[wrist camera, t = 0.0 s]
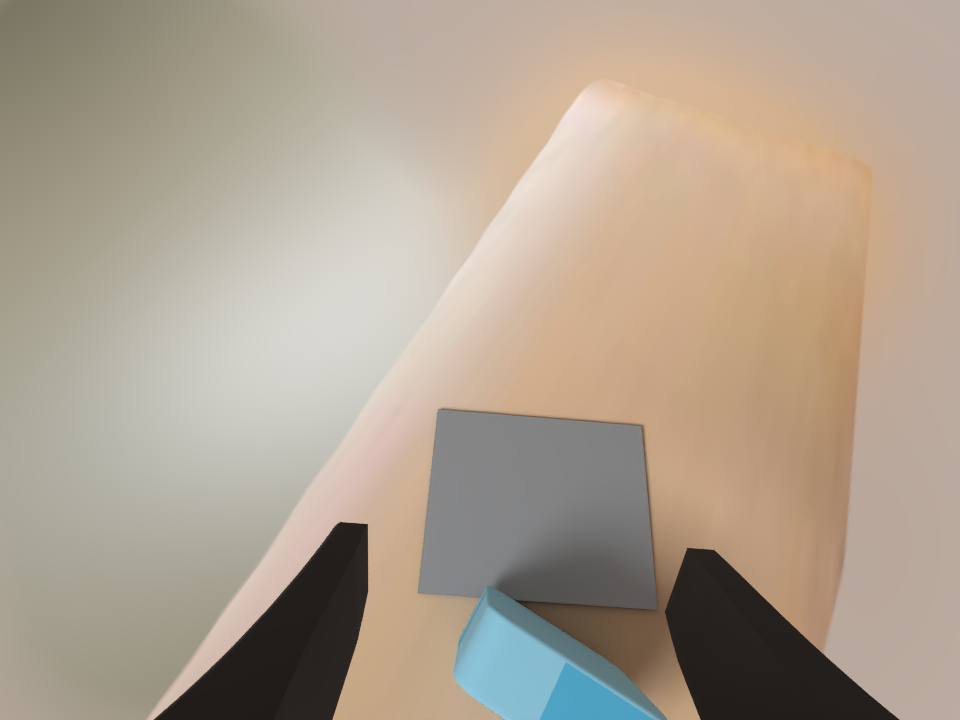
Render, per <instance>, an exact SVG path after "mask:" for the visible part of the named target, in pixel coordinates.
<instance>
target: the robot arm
mask: <svg viewBox="0 0 960 720" xmlns="http://www.w3.org/2000/svg"><path fill="white" fill-rule="evenodd" d="M367 594H368V524H358V523H345V522H340V523H338V524H337V525H336V526H335V527H334V528H333V530H332V531H331V532H330V534H329V535H328V537H327V538H326V539H325V541H324V542H323V543H322V545H321V546H320V547H319V548H318V550H317V551H316V552H315V554H314V555H313V556H312V557H311V559H310V560H309V561H308V562H307V564H306V565H305V566H304V567H303V569H302V570H301V571H300V572H299V574H298V575H297V576H296V577H295V578H294V579H293V581H292V582H291V583H290V584H289V585H288V586H287V588H286V589H285V590H284V591H283V592H282V593H281V595H280V596H279V597H278V598H277V599H276V600H275V602H274V603H273V604H272V605H271V606H270V607H269V608H268V609H267V611H266V612H265V613H264V614H263V615H262V616H261V617H260V618H259V619H258V620H257V621H256V622H255V623H254V624H253V625H252V627H251V628H250V629H249V630H248V631H247V632H246V633H245V634H244V635H243V636H242V637H241V638H240V639H239V640H238V641H237V642H236V643H235V644H234V646H233V647H232V648H231V649H230V650H229V651H228V652H227V653H226V654H225V655H224V656H223V657H222V658H221V659H220V660H219V661H217V662H216V663H215V664H214V665H213V666H212V667H211V668H210V669H209V670H208V671H207V672H206V673H205V674H204V675H203V676H202V677H201V678H200V679H199V680H198V681H196V682H195V683H194V684H193V685H192V686H191V687H190V688H189V689H188V690H187V691H186V692H185V693H184V694H182V695H181V696H180V697H179V698H178V699H177V700H176V701H175V702H173V703H172V704H171V705H170V706H169V707H168V708H167V709H165V710H164V711H163V712H162V713H161V714H160V715H159V716H157V717H156V718H155V719H154V720H332V719H333V716H334V713H335V710H336V706H337V703H338V700H339V697H340V694H341V691H342V688H343V685H344V682H345V678H346V675H347V672H348V669H349V666H350V663H351V659H352V656H353V653H354V650H355V647H356V644H357V640H358V636H359V631H360V627H361V622H362V618H363V613H364V608H365V603H366V599H367ZM665 614H666V618H667V622H668V626H669V630H670V634H671V638H672V641H673V645H674V648H675V652H676V655H677V659H678V662H679V665H680V668H681V670H682V673H683V676H684V678H685V681H686V683H687V686H688V688H689V691H690V694H691V696H692V699H693V701H694V704H695V706H696V709H697V712H698V714H699V717H700V719H701V720H899V719H898V718H897V717H895V716H894V715H893V714H892V713H890V712H889V711H888V710H887V709H886V708H884V707H883V706H882V705H881V704H880V703H878V702H877V701H876V700H875V699H874V698H872V697H871V696H870V695H869V694H868V693H866V692H865V691H864V690H863V689H862V688H861V687H859V686H858V685H857V684H856V683H855V682H854V681H853V680H852V679H850V678H849V677H848V676H847V675H846V674H845V673H844V672H843V671H841V670H840V669H839V668H838V667H837V666H836V665H835V664H834V663H832V662H831V661H830V660H829V659H828V658H827V657H826V656H825V655H824V654H822V653H821V652H820V651H819V650H818V649H817V648H816V647H815V646H814V645H813V644H812V643H810V642H809V641H808V640H807V639H806V638H805V637H804V636H803V635H802V634H801V633H800V632H799V631H798V630H797V629H796V628H795V627H793V626H792V625H791V624H790V623H789V622H788V621H787V620H786V619H785V618H784V617H783V616H782V615H781V614H780V613H779V612H778V611H777V610H776V609H775V608H774V607H773V606H772V605H771V604H770V603H769V602H767V601H766V600H765V599H764V598H763V597H762V596H761V595H760V594H759V593H758V592H757V591H756V590H755V589H754V588H753V587H752V586H751V585H750V584H749V583H748V582H747V581H746V580H745V579H744V578H743V577H742V576H741V575H740V574H739V573H738V572H737V571H736V570H735V569H734V568H733V567H732V566H731V565H730V564H728V563H727V562H726V561H725V560H724V559H723V558H722V557H721V556H720V555H719V554H718V553H717V552H716V551H714V550H707V549H693V548H687V551H686V554H685V556H684V559H683V562H682V565H681V568H680V571H679V573H678V576H677V579H676V582H675V585H674V588H673V591H672V593H671V596H670V599H669V602H668V605H667V608H666V610H665Z"/></svg>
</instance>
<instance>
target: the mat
mask: <svg viewBox="0 0 960 720" xmlns="http://www.w3.org/2000/svg"><path fill="white" fill-rule="evenodd" d="M487 586H491V587H493V588H495V589H497V590H499V591H501V592H502V593H504V594H505V595H507V596H509V597H510V598H512V599H513V600H522V601H537V602H551V603H565V604H579V605H593V606H607V607H622V608H636V609H650V610H658V608H657V596H656V585H655V574H654V562H653V551H652V539H651V528H650V517H649V505H648V494H647V483H646V471H645V460H644V448H643V437H642V426H636V425H624V424H612V423H600V422H588V421H576V420H563V419H551V418H539V417H527V416H515V415H503V414H490V413H478V412H466V411H454V410H442V409H438V413H437V422H436V431H435V441H434V450H433V459H432V468H431V477H430V486H429V496H428V505H427V514H426V523H425V532H424V542H423V551H422V560H421V569H420V578H419V588H418V593H423V594H437V595H451V596H466V597H480V598H481V596H482V594H483V592H484V590H485V588H486V587H487Z"/></svg>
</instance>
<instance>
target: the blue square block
mask: <svg viewBox="0 0 960 720" xmlns="http://www.w3.org/2000/svg"><path fill="white" fill-rule="evenodd" d="M453 674H454V678H455V680H456V681H457V683H458V684H459V685H460V686H461V687H462V688H463V689H464V690H465V691H466V692H467V693H468V694H469V695H471V696H472V697H473V698H475V699H476V700H477V701H479V702H480V703H482V704H483V705H485V706H486V707H488V708H489V709H491V710H492V711H493V712H495V713H496V714H498V715H499V716H501V717H502V718H504V719H505V720H667V718H666V717H665V716H664V714H663V713H662V712H661V711H660V710H659V709H658V708H657V707H656V706H655V705H654V704H653V703H652V702H651V701H650V700H649V699H648V698H647V697H646V696H645V695H644V694H643V693H642V692H641V691H640V690H639V688H638V687H637V686H636V685H635V684H634V683H633V682H632V681H631V680H630V679H629V678H628V677H627V676H626V675H625V674H624V673H623V672H622V671H621V670H620V669H619V668H618V667H616V666H615V665H614V664H612V663H611V662H610V661H608V660H607V659H605V658H604V657H602V656H601V655H599V654H598V653H596V652H594V651H593V650H591V649H590V648H588V647H587V646H585V645H584V644H582V643H580V642H579V641H577V640H576V639H574V638H573V637H571V636H570V635H568V634H566V633H565V632H563V631H562V630H560V629H559V628H557V627H555V626H554V625H552V624H551V623H549V622H548V621H546V620H545V619H543V618H541V617H540V616H538V615H537V614H535V613H534V612H532V611H530V610H529V609H527V608H526V607H524V606H523V605H521V604H520V603H518V602H516V601H515V600H513V599H512V598H510V597H509V596H507V595H505V594H504V593H502V592H501V591H499V590H497V589H495V588H493V587H491V586H487V587H486V588H485V590H484V592H483V594H482V596H481V598H480V599H479V601H478V603H477V605H476V607H475V609H474V611H473V613H472V615H471V617H470V618H469V620H468V622H467V624H466V626H465V628H464V630H463V632H462V634H461V636H460V638H459V643H458V649H457V654H456V660H455V665H454V671H453Z"/></svg>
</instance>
